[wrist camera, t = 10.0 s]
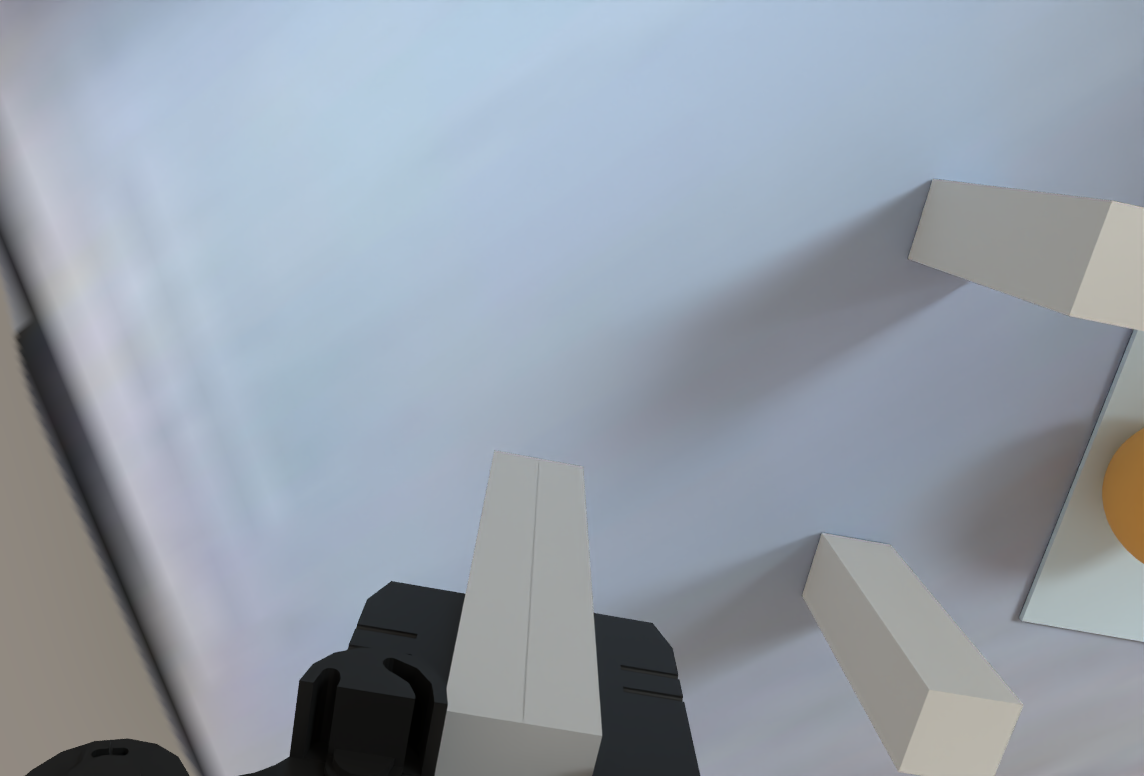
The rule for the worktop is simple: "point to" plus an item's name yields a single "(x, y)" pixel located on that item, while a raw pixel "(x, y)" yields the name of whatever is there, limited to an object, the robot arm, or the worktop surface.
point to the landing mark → (1095, 530)
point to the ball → (1126, 494)
